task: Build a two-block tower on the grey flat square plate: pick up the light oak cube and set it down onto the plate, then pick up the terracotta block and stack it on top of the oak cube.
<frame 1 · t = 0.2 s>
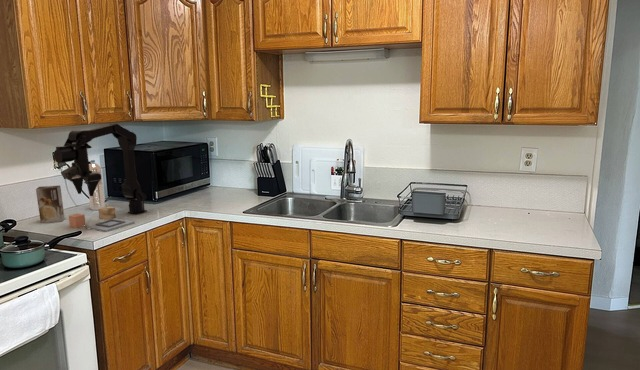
hand: (85, 194, 209), 14 cm above the worktop, tool pointing down, fingers open, 9 cm apart
oak cube: (107, 218, 224), on the worktop
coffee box: (52, 221, 221), on the worktop
grey flat square plate: (110, 225, 211), on the worktop
water bottle: (98, 209, 243), on the worktop
terracotta block: (77, 226, 212), on the worktop
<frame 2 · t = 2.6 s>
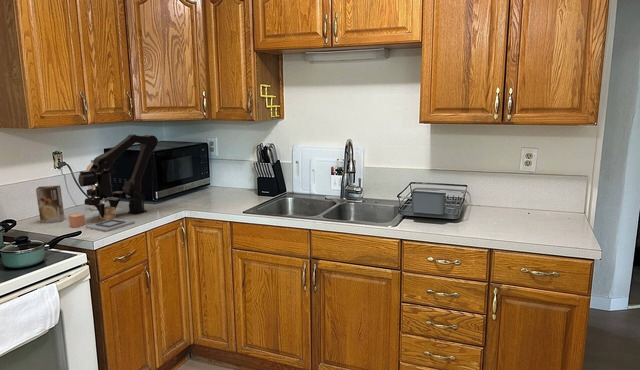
hand: (107, 216, 224), 1 cm above the worktop, tool pointing down, fingers closed on oak cube, 5 cm apart
oak cube: (107, 218, 224), on the worktop, touching gripper
everything else where it was.
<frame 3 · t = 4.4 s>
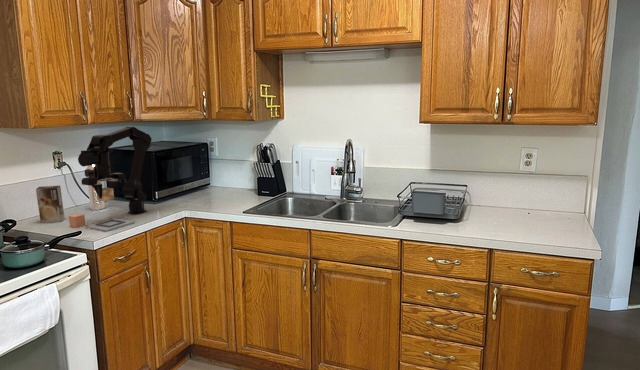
hand: (105, 197, 216), 11 cm above the worktop, tool pointing down, fingers closed on oak cube, 5 cm apart
oak cube: (105, 199, 216), point 10 cm above the worktop, touching gripper
everything else where it was.
when the fingers open (3 cm above the worktop, at t = 6.7 s): oak cube drops 1 cm, resting on grey flat square plate.
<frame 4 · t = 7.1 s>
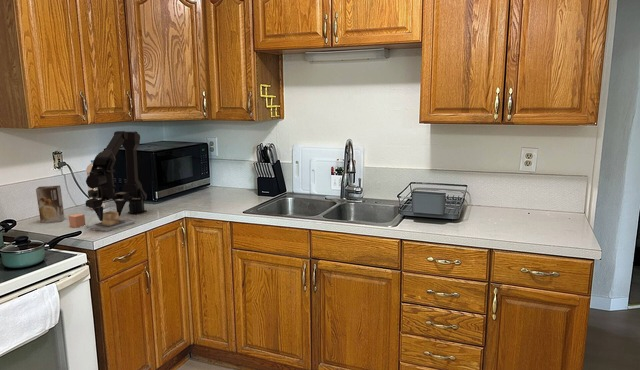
hand: (110, 218, 210), 3 cm above the worktop, tool pointing down, fingers open, 9 cm apart
oak cube: (110, 223, 211), point 1 cm above the worktop, touching grey flat square plate
everything else where it was.
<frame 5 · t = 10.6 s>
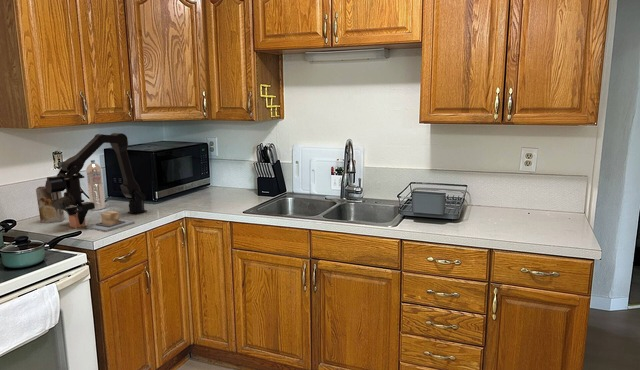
hand: (77, 223, 211), 1 cm above the worktop, tool pointing down, fingers closed on terracotta block, 4 cm apart
terracotta block: (77, 225, 212), on the worktop, touching gripper
everything else where it was.
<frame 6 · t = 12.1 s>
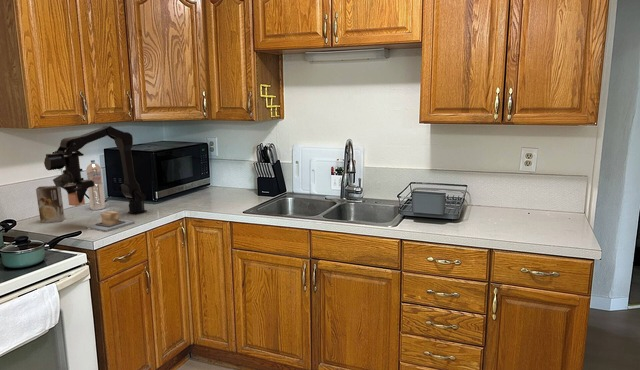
hand: (76, 202, 209), 11 cm above the worktop, tool pointing down, fingers closed on terracotta block, 4 cm apart
terracotta block: (77, 204, 210), point 10 cm above the worktop, touching gripper
everything else where it was.
when the fingers open (8 cm above the worktop, at t = 13.7 s): terracotta block drops 1 cm, resting on oak cube.
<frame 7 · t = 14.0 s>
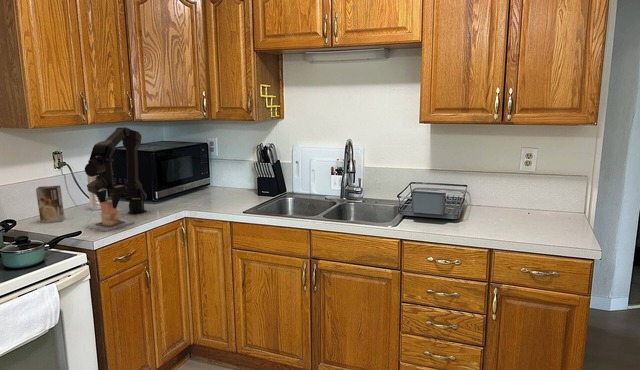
hand: (109, 207, 210), 8 cm above the worktop, tool pointing down, fingers open, 7 cm apart
oak cube: (110, 223, 211), point 1 cm above the worktop, touching grey flat square plate, terracotta block
terracotta block: (109, 213, 210), point 6 cm above the worktop, touching oak cube
everything else where it was.
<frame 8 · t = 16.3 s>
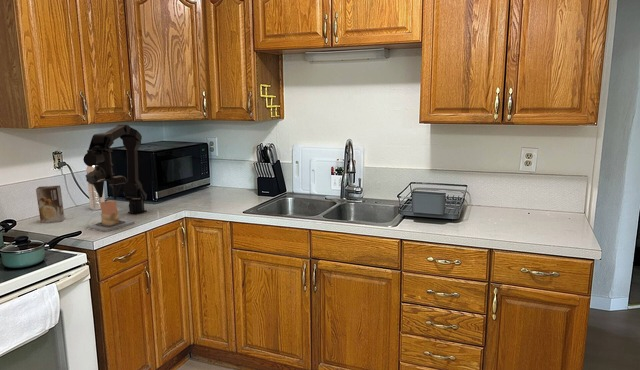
hand: (108, 198, 209), 12 cm above the worktop, tool pointing down, fingers open, 9 cm apart
nothing on the worktop moved.
at the end: oak cube 0.1 cm off-centre on the grey flat square plate, point 0.8 cm above the grey flat square plate's base; terracotta block 0.1 cm off-centre on the oak cube, point 5.0 cm above the oak cube's base; terracotta block tilted 0° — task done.
